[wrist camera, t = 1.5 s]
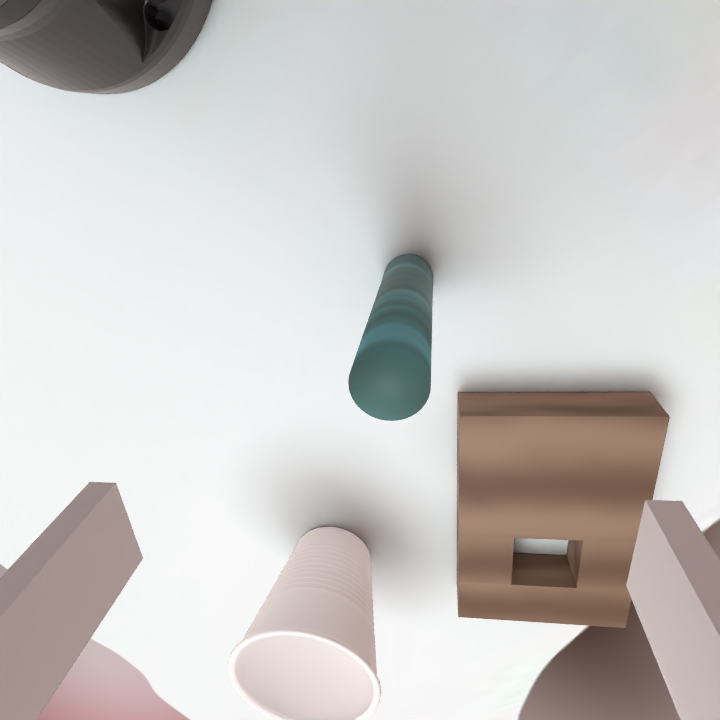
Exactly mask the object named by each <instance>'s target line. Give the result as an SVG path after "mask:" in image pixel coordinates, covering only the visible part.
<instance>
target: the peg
mask: <svg viewBox="0 0 720 720" xmlns="http://www.w3.org/2000/svg"><path fill="white" fill-rule="evenodd" d="M432 298H433V274H432V270H431V268H430V266H429V264H428V263H427V262H426V261H425V260H424V259H422V258H421V257H419V256H416V255H412V254H406V255H401V256H398V257H396V258H395V259H393V260H392V261H391V262H390V263H389V264H388V266H387V268H386V270H385V273H384V276H383V279H382V282H381V284H380V287H379V290H378V293H377V296H376V299H375V302H374V305H373V308H372V311H371V313H370V316H369V319H368V322H367V325H366V328H365V331H364V334H363V337H362V340H361V342H360V345H359V348H358V351H357V354H356V357H355V360H354V363H353V366H352V369H351V372H350V375H349V390H350V393H351V396H352V398H353V400H354V401H355V403H356V404H357V405H358V407H359V408H360V409H362V410H363V411H364V412H365V413H367V414H369V415H370V416H372V417H375V418H378V419H381V420H389V421H394V420H402V419H405V418H408V417H410V416H412V415H414V414H415V413H417V412H418V411H419V410H420V409H421V408H422V407H423V406H424V405H425V403H426V401H427V400H428V397H429V394H430V387H431V344H432Z"/></svg>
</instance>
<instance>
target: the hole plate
mask: <svg viewBox="0 0 720 720" xmlns="http://www.w3.org/2000/svg"><path fill="white" fill-rule="evenodd" d="M668 422H669V415H668V414H667V413H666V412H665V410H664V409H663V408H662V407H661V405H660V404H659V403H658V401H657V400H656V399H655V398H654V396H653V395H652V394H651V393H650V392H478V393H458V413H457V597H458V617H468V618H483V619H498V620H513V621H529V622H544V623H559V624H575V625H590V626H605V627H621V628H625V627H626V623H627V617H628V613H629V608H630V603H631V596H630V594H629V591H628V589H627V586H626V584H627V580H628V575H629V571H630V566H631V562H632V557H633V553H634V548H635V544H636V539H637V535H638V531H639V526H640V522H641V517H642V513H643V508H644V504H645V500H652V499H653V494H654V489H655V484H656V479H657V475H658V470H659V465H660V460H661V456H662V451H663V446H664V441H665V437H666V432H667V427H668ZM514 538H533V539H558V540H569V541H568V549H567V556H564V555H542V554H520V553H513V550H514Z"/></svg>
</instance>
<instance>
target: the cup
mask: <svg viewBox="0 0 720 720" xmlns="http://www.w3.org/2000/svg"><path fill="white" fill-rule="evenodd" d="M371 580H372V576H371V559H370V553H369V551H368V548H367V547H366V545H365V544H364V542H363V541H362V540H361V539H360V538H358V537H357V536H356V535H354V534H353V533H351V532H349V531H347V530H344V529H341V528H337V527H321V528H316V529H313V530H311V531H309V532H307V533H306V534H305V535H303V536H302V537H301V539H300V540H299V542H298V544H297V545H296V547H295V549H294V551H293V552H292V554H291V556H290V558H289V560H288V561H287V563H286V565H285V567H284V569H283V570H282V572H281V574H280V575H279V577H278V579H277V581H276V582H275V584H274V586H273V588H272V590H271V591H270V593H269V595H268V596H267V598H266V600H265V602H264V604H263V605H262V607H261V608H260V610H259V612H258V614H257V615H256V617H255V619H254V621H253V622H252V624H251V626H250V628H249V629H248V631H247V633H246V635H245V636H244V638H243V640H242V641H241V642H239V643H238V644H237V645H236V647H235V648H234V649H233V651H232V652H231V655H230V658H229V662H228V673H229V676H230V680H231V683H232V685H233V686H234V688H235V690H236V691H237V693H238V694H239V695H240V696H241V697H242V698H243V699H244V701H245V702H247V703H248V704H249V705H250V706H251V707H253V708H254V709H255V710H257V711H258V712H260V713H262V714H263V715H265V716H266V717H268V718H271V719H273V720H366V719H367V718H368V717H369V716H370V715H371V714H373V713H374V711H375V709H376V708H377V706H378V704H379V701H380V696H381V688H380V682H379V679H378V677H377V670H376V651H375V636H374V621H373V620H374V617H373V599H372V581H371Z"/></svg>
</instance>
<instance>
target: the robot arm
mask: <svg viewBox="0 0 720 720" xmlns="http://www.w3.org/2000/svg"><path fill="white" fill-rule="evenodd" d="M211 1H212V0H0V62H1V63H3V64H4V65H6V66H8V67H9V68H11V69H13V70H14V71H16V72H18V73H20V74H21V75H23V76H25V77H27V78H29V79H32V80H34V81H36V82H39V83H42V84H44V85H47V86H51V87H54V88H57V89H62V90H66V91H73V92H82V93H93V94H119V93H125V92H129V91H133V90H137V89H139V88H142V87H145V86H147V85H149V84H151V83H153V82H154V81H156V80H158V79H159V78H161V77H162V76H164V75H165V74H166V73H168V72H169V71H170V70H171V69H172V68H173V67H175V66H176V64H177V63H178V62H179V61H180V60H181V59H182V58H183V57H184V55H185V54H186V53H187V52H188V50H189V49H190V47H191V46H192V44H193V43H194V41H195V40H196V38H197V36H198V34H199V32H200V30H201V28H202V26H203V24H204V22H205V19H206V16H207V14H208V11H209V8H210V5H211ZM142 559H143V557H142V554H141V552H140V549H139V546H138V543H137V540H136V538H135V535H134V532H133V529H132V527H131V524H130V521H129V518H128V515H127V513H126V510H125V507H124V504H123V501H122V499H121V496H120V493H119V490H118V488H117V485H116V483H102V482H89V483H88V485H87V486H86V487H85V488H84V489H83V490H82V491H81V492H80V493H79V494H78V495H77V496H76V497H75V498H74V500H73V501H72V502H71V503H70V504H69V505H68V506H67V507H66V508H65V509H64V510H63V511H62V512H61V513H60V515H59V516H58V517H57V518H56V519H55V520H54V521H53V522H52V523H51V524H50V525H49V526H48V527H47V528H46V530H45V531H44V532H43V533H42V534H41V535H40V536H39V537H38V538H37V539H36V540H35V541H34V542H33V543H32V545H31V546H30V547H29V548H28V549H27V550H26V551H25V552H24V553H23V554H22V555H21V556H20V557H19V558H18V560H17V561H16V562H15V563H14V564H13V565H12V566H11V567H10V568H9V569H8V570H7V571H6V572H5V574H4V575H3V576H2V577H1V578H0V720H37V719H38V717H39V716H40V714H41V713H42V711H43V710H44V708H45V707H46V705H47V704H48V702H49V701H50V699H51V698H52V696H53V695H54V693H55V692H56V690H57V689H58V687H59V685H60V684H61V682H62V681H63V679H64V678H65V676H66V675H67V673H68V672H69V670H70V669H71V667H72V666H73V664H74V663H75V661H76V660H77V658H78V657H79V655H80V653H81V652H82V650H83V649H84V647H85V646H86V644H87V643H88V641H89V640H90V638H91V637H92V635H93V634H94V632H95V631H96V629H97V627H98V626H99V624H100V623H101V621H102V620H103V618H104V617H105V615H106V614H107V612H108V611H109V609H110V608H111V606H112V605H113V603H114V602H115V600H116V598H117V597H118V595H119V594H120V592H121V591H122V589H123V588H124V586H125V585H126V583H127V582H128V580H129V579H130V577H131V576H132V574H133V573H134V571H135V569H136V568H137V566H138V565H139V563H140V562H141V560H142ZM626 586H627V589H628V591H629V594H630V596H631V599H632V601H633V603H634V606H635V608H636V611H637V613H638V616H639V618H640V621H641V623H642V626H643V628H644V631H645V633H646V636H647V638H648V640H649V643H650V645H651V648H652V650H653V653H654V655H655V658H656V660H657V663H658V665H659V667H660V670H661V672H662V675H663V678H664V680H665V682H666V685H667V687H668V690H669V692H670V695H671V697H672V700H673V702H674V705H675V707H676V709H677V712H678V715H679V717H680V719H681V720H720V560H719V559H718V557H717V555H716V554H715V552H714V551H713V549H712V547H711V546H710V544H709V543H708V541H707V540H706V538H705V537H704V535H703V533H702V532H701V530H700V529H699V527H698V525H697V524H696V522H695V521H694V519H693V518H692V516H691V515H690V513H689V511H688V510H687V508H686V507H685V505H684V504H683V502H682V501H662V500H645V504H644V508H643V513H642V517H641V522H640V526H639V531H638V535H637V539H636V544H635V548H634V553H633V557H632V562H631V566H630V571H629V575H628V580H627V584H626Z"/></svg>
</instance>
